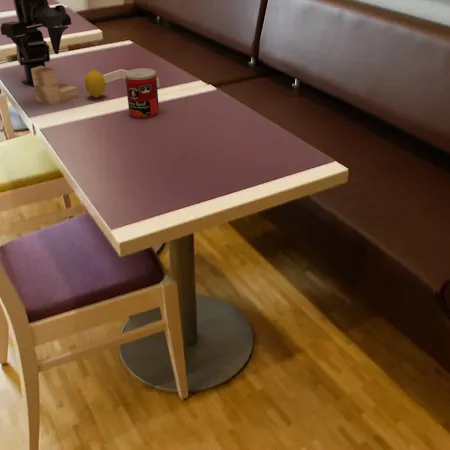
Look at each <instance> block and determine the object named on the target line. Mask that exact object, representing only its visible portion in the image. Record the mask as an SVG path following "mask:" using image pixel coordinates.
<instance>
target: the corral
mask: <svg viewBox="0 0 450 450" xmlns="http://www.w3.org/2000/svg"><path fill="white" fill-rule="evenodd" d="M128 71H129V70H126V69H121V68H120V69H117V70H115V71H111V72H109V73H105V74H102V75H103V77H104V80H105V85H106V84H109V83H112V82H114V81H118V80H120V79H122V80H126V77H125V76H126V75H125V74H126V72H128ZM158 88H160V79H159V78H158V77H157V89H158Z"/></svg>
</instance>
